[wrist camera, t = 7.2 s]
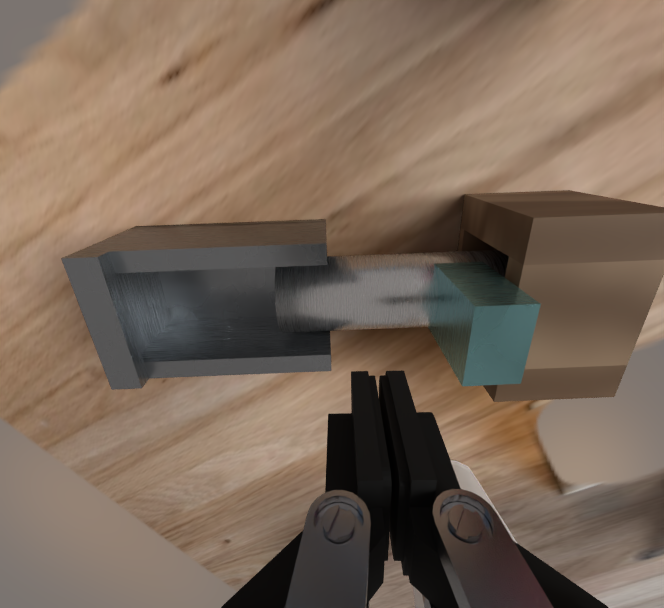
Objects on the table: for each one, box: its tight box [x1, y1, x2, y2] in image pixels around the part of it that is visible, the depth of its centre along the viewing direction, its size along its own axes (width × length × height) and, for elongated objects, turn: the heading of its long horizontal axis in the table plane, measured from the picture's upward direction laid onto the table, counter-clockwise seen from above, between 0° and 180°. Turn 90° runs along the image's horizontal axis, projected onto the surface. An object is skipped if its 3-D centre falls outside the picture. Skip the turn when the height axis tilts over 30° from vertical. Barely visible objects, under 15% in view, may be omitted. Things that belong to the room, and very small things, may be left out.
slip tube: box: [275, 250, 541, 386], centre depth 17 cm, size 4×15×8 cm, turn 92°
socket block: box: [457, 190, 664, 402], centre depth 18 cm, size 9×6×7 cm, turn 2°
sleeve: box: [61, 219, 331, 389], centre depth 18 cm, size 7×11×6 cm, turn 92°
